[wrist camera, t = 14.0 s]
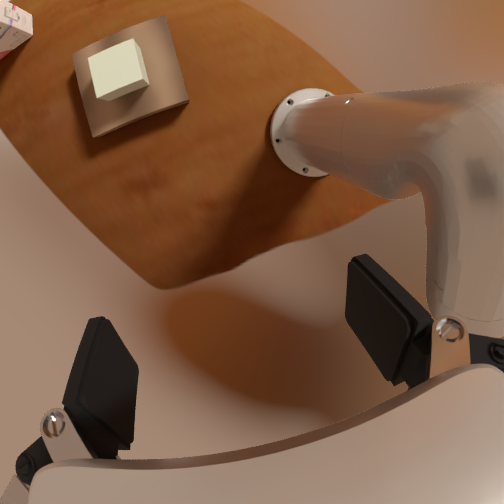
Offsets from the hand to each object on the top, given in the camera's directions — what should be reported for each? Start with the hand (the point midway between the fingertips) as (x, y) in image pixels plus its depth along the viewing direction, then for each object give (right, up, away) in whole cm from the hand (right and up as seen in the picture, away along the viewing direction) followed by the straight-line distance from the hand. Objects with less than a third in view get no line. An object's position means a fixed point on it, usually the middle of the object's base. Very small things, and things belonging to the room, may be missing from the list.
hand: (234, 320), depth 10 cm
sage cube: (-14, +22, +13) cm, 29 cm away
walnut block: (-14, +24, +17) cm, 33 cm away
